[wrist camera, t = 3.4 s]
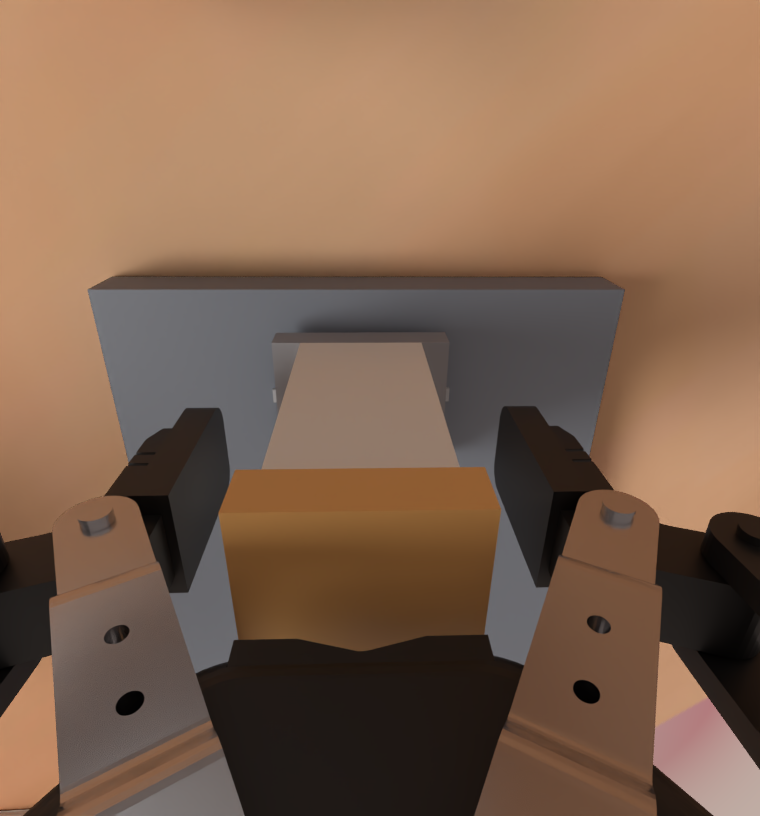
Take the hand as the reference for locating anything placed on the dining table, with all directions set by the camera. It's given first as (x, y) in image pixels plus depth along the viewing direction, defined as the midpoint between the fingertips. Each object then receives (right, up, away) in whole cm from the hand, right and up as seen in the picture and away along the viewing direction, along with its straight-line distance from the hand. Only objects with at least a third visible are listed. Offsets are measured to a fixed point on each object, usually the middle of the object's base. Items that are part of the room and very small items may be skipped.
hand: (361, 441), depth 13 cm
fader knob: (0, +1, +2) cm, 2 cm away
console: (0, -4, +7) cm, 8 cm away
